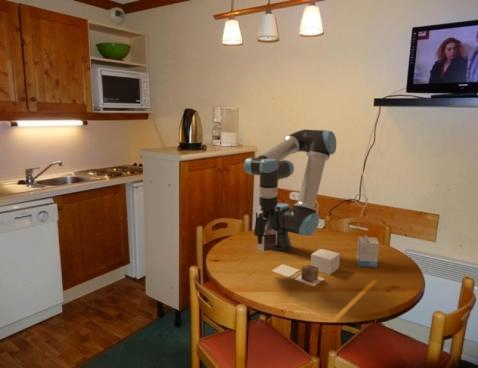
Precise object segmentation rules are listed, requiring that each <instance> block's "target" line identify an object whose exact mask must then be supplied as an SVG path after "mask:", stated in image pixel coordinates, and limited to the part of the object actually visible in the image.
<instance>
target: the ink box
mask: <svg viewBox="0 0 478 368" xmlns="http://www.w3.org/2000/svg"><path fill="white" fill-rule="evenodd" d="M379 249H380V242H379V240H378V238H377V237H373V236H372V237H371V236H370V237H369V236H368V235H366V234H365V233H364V236H358V240H357V252H356V260H357V264H358V266H359V267H371V268H378V263H379V253H380V252H379Z"/></svg>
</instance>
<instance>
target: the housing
mask: <svg viewBox="0 0 478 368" xmlns="http://www.w3.org/2000/svg"><path fill="white" fill-rule="evenodd" d="M340 259H341V253H340V252H339V253H338V252H335V251H332V250H329V249H325V248H320V249H318V250H316V251H314V252H312V253H311V255H310V265H312V266H315V267H318V273H322V274H324V275H325V274H326V275H329V276H330V275H332V274H333V273H334V272H336V271H337V270H338V269H340Z"/></svg>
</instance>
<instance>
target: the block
mask: <svg viewBox="0 0 478 368" xmlns="http://www.w3.org/2000/svg"><path fill="white" fill-rule="evenodd" d="M301 271H302V272H301V279H302V280H305V281H308V282H310V283H313V282H314V281H315V280H317V279H318V277H319V271H318V267H315V266H312V265H311V264H309V263H308V264H306V265H305V266H302V268H301Z"/></svg>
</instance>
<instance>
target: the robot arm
mask: <svg viewBox="0 0 478 368" xmlns="http://www.w3.org/2000/svg"><path fill="white" fill-rule="evenodd" d="M336 151H337V138H336V134H335V133H334V132H333V131H332V130H326V129H323V130H322V129H302V130H298V131H296V132H293V133H291V134H289V135H287V136H286V137H284V138H283V141H281V142H280V143H278V144H276V145H275V146H273V147H271V148H270V149H268V150H266V151H265V152H263V153H261V154H260V155H259V156H256V157H248V158H246V159H245V160H244V163H243V170H244V172H245V173H246V174H248V175H252V176H259V188H258V189H259V194H258V195H259V200H258V202H259V203H258V205H259V206H260V211H259V212H258V211H256V212H255V223H254V229H253V230H254V231H253V236H255V237H257V251H261V252H265V251H264V236H263V234H264V230H271V229H272V230H273V231H274V232H275V233H276V250H271V251H272V252H283V251H287V252H289V251H291V249H292V242H291V239H290V236H289V235H290V234H289V233H293V234H297V235H300V236H305V237H310V236H311V235H314V233H315V232H316V231H317V228H318V226H319V224H320V223H319V222H320V220H319V219H320V216H319V214H318V213H317V209H316V207H315V205H316V203H317V197H318V193H319V189H320V185H321V181H322V177H323V174H324V173H323V172H324V169H325V165H326V161H328V160H329V159H330V155H334V154H335V153H336ZM298 152H300V153H301V152H302V153H303V152H304V153H306V156H307V157H308V158H307V162H306V167H305V169H304V170H305V171H304V175H303V178H302V183H301V187H300V191H299V194H298V199H297V202H296V203H294V204H293V206H292V208H291V206H290V204H289V203H285V202H283V203H280V202H279V203H278V194H279V193H278V192H279V191H278V188H279V187H278V185H279V181H280V180H283V179H287V178H288V177H291V176H292V175H293V173H294V171H295V168H294V164H293V163H292V162H291V161H290V160H287V159H286V158H287V157H288V156H290V155H291V154H292V155H293V154H296V153H298ZM284 159H285V160H284Z"/></svg>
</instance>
